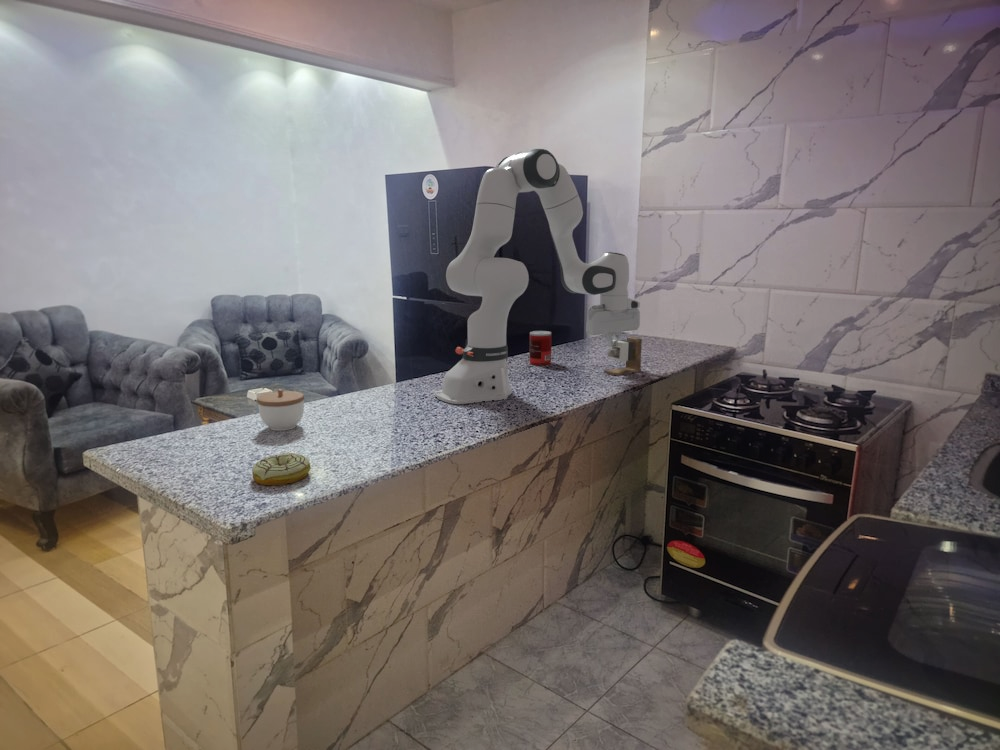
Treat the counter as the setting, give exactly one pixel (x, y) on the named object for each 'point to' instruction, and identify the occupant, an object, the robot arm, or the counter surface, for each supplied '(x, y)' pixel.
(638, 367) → the pipe stand
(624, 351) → the sleeve
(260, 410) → the lidded jar
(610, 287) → the robot arm
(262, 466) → the decorated donut
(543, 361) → the canned food
